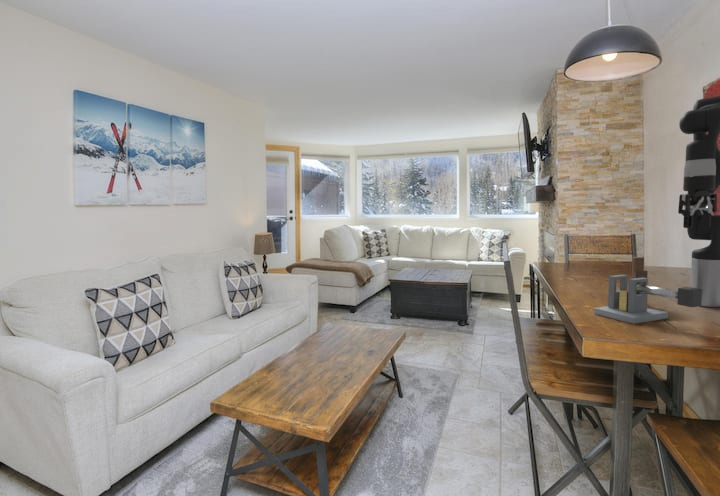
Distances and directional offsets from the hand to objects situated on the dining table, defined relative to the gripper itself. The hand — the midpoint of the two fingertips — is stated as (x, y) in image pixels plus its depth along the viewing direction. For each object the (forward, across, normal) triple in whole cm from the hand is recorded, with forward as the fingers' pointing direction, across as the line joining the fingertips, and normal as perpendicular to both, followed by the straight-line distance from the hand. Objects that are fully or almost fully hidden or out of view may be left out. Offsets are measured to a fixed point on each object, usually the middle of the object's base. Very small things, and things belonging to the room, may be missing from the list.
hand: (696, 227), depth 124 cm
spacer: (+25, +11, -12) cm, 30 cm away
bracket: (+30, +11, -12) cm, 34 cm away
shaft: (+23, +11, -1) cm, 25 cm away
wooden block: (+30, -5, -21) cm, 37 cm away
